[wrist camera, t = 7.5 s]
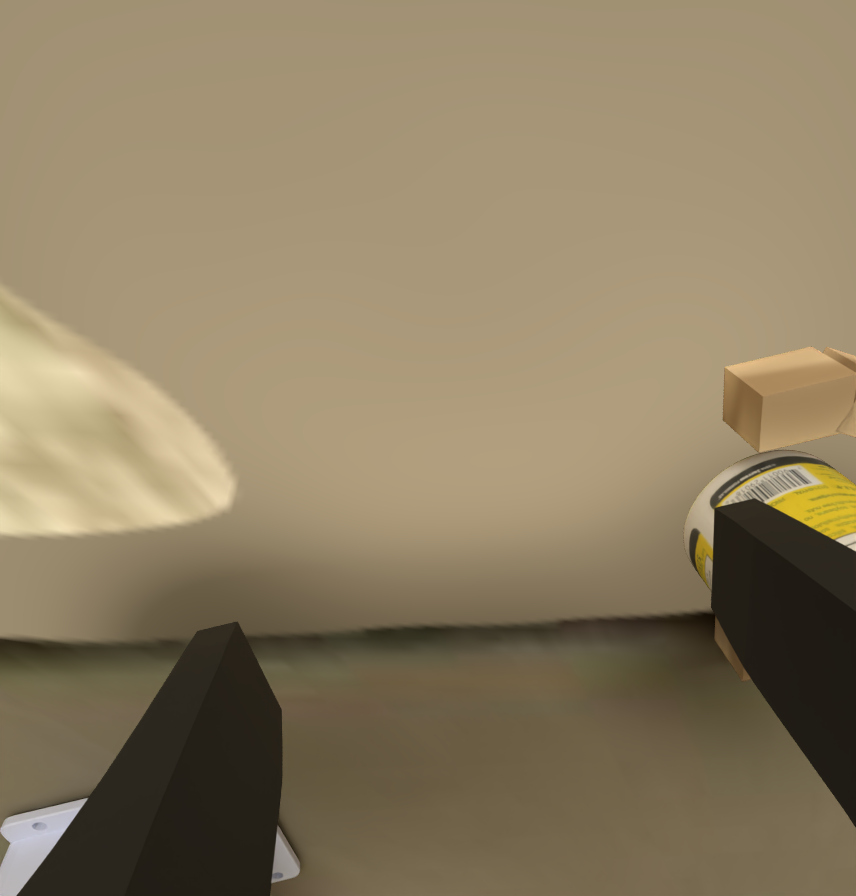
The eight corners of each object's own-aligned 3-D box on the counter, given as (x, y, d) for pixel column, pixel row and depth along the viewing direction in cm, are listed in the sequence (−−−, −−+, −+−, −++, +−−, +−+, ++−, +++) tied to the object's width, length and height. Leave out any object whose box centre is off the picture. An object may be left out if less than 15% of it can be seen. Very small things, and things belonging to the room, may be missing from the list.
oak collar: (714, 639, 25) (742, 681, 23) (724, 367, 19) (762, 396, 17) (894, 596, 25) (935, 635, 23) (961, 310, 19) (1022, 334, 17)
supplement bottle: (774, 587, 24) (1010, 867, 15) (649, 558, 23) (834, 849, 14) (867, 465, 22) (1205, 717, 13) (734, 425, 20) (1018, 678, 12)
